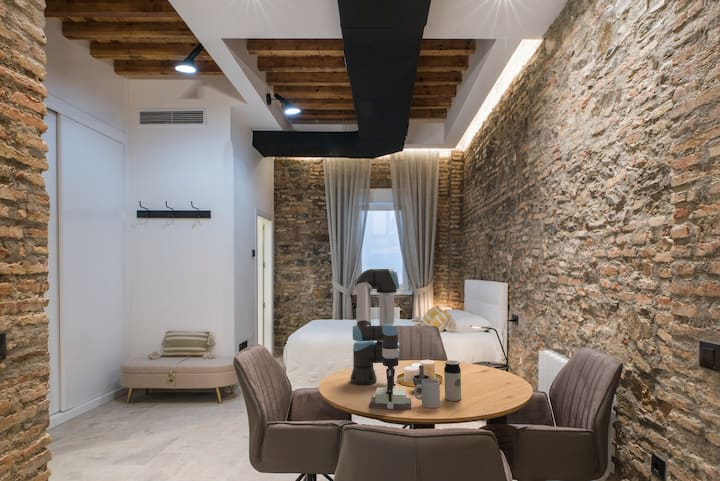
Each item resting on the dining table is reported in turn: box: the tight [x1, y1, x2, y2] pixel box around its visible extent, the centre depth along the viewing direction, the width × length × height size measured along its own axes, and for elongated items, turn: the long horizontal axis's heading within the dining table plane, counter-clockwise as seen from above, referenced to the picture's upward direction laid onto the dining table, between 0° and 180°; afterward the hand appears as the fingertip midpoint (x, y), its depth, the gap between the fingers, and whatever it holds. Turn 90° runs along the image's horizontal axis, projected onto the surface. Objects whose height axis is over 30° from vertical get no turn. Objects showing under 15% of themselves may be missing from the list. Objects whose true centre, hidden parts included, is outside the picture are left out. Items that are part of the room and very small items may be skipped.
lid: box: [374, 387, 407, 404], centre depth 192 cm, size 11×14×4 cm
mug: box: [413, 378, 441, 409], centre depth 192 cm, size 12×8×11 cm
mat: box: [369, 396, 412, 410], centre depth 192 cm, size 8×19×2 cm, turn 83°
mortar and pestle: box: [412, 364, 432, 393], centre depth 217 cm, size 11×9×12 cm
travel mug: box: [443, 359, 462, 402], centre depth 201 cm, size 8×8×18 cm
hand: (391, 404), depth 192 cm, fingers closed on lid, 11 cm apart
